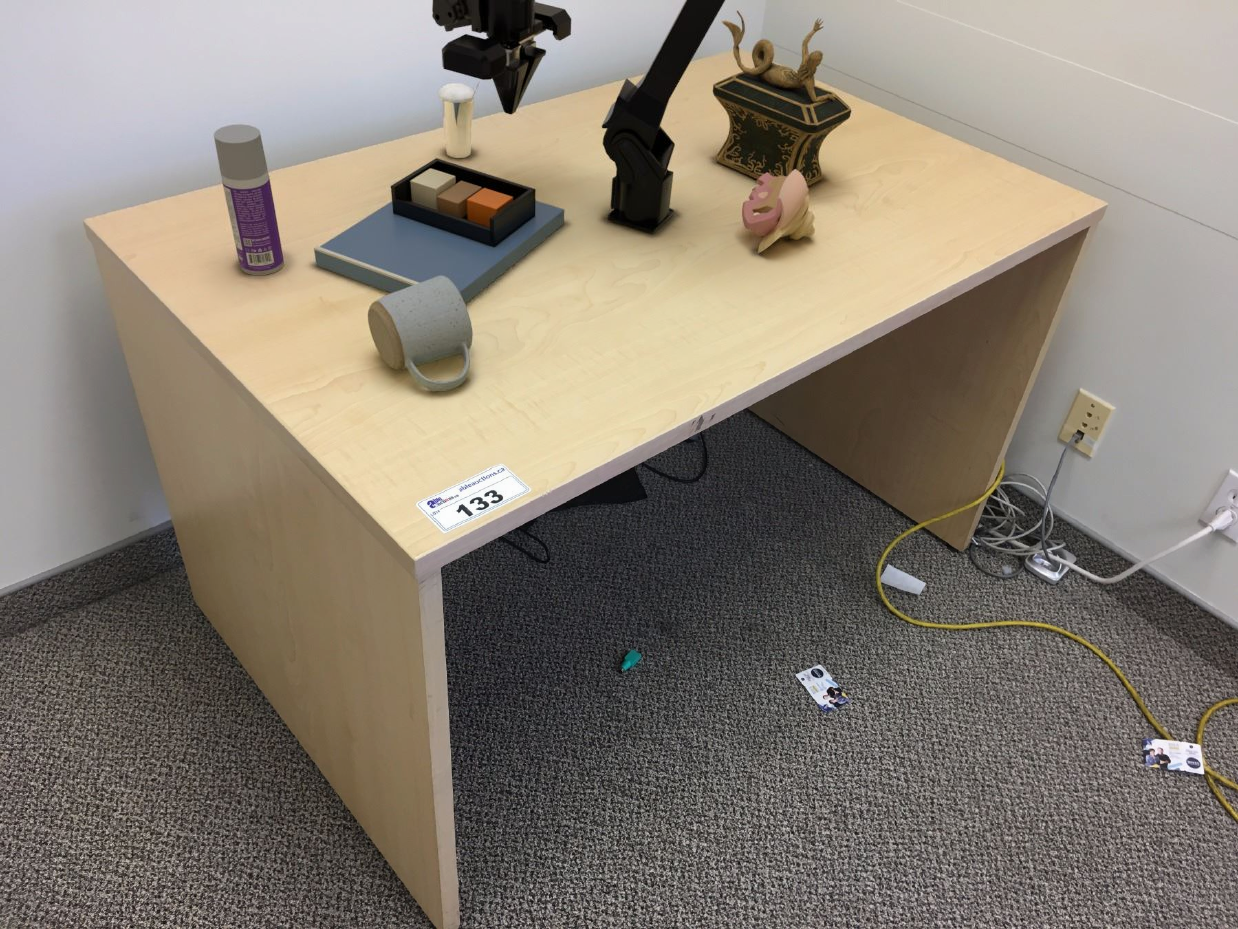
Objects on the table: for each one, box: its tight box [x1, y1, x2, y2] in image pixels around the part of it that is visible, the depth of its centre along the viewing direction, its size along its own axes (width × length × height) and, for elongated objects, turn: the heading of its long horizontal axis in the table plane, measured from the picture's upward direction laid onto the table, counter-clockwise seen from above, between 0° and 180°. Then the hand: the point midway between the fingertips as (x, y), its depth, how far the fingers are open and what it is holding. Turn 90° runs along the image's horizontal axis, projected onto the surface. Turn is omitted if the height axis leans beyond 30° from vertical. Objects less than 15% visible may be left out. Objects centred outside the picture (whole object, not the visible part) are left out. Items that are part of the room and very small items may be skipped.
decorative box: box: [712, 10, 852, 187], centre depth 132 cm, size 20×10×20 cm, turn 48°
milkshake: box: [438, 82, 480, 159], centre depth 131 cm, size 5×5×10 cm
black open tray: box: [390, 157, 537, 247], centre depth 117 cm, size 14×9×4 cm, turn 63°
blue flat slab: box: [313, 200, 565, 305], centre depth 116 cm, size 18×24×2 cm
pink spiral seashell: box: [741, 169, 816, 254], centre depth 120 cm, size 9×10×10 cm
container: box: [213, 123, 285, 276], centre depth 105 cm, size 5×5×15 cm
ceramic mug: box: [367, 276, 474, 392], centre depth 96 cm, size 11×8×8 cm
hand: (509, 112), depth 119 cm, fingers closed
